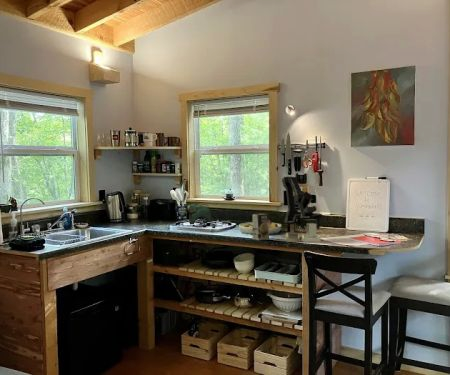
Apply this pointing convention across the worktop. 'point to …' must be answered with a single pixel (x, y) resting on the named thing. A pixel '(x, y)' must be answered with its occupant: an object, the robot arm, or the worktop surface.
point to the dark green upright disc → (198, 213)
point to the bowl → (248, 227)
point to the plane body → (292, 235)
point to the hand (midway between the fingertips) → (311, 229)
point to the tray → (311, 239)
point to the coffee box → (260, 226)
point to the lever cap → (310, 230)
